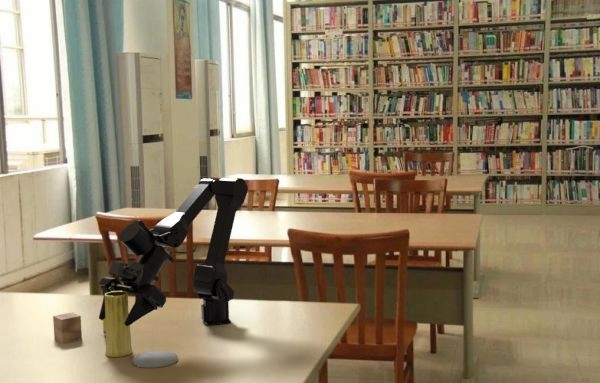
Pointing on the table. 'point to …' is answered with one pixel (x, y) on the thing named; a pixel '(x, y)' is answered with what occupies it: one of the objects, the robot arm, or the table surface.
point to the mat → (155, 359)
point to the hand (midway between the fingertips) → (112, 322)
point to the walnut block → (67, 327)
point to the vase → (117, 324)
